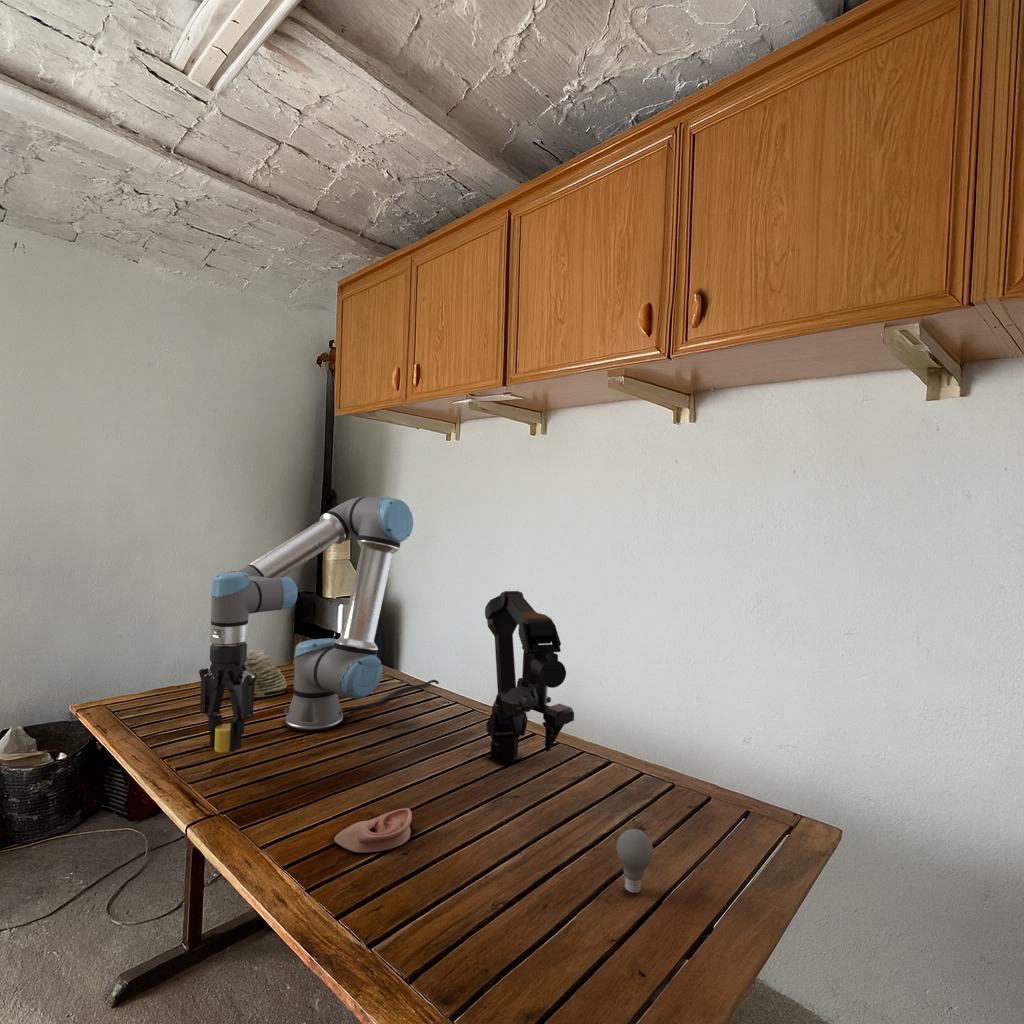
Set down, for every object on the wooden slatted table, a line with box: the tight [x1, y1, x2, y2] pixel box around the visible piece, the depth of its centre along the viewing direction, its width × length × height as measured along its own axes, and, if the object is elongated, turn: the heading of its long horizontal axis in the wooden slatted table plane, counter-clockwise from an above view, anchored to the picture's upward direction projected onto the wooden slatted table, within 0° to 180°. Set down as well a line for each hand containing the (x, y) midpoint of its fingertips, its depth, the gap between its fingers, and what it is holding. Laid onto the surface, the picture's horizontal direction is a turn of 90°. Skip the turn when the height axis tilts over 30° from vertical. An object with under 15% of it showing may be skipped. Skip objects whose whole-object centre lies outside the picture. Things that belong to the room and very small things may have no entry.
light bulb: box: [615, 828, 654, 894], centre depth 106 cm, size 6×6×10 cm
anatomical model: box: [333, 807, 413, 854], centre depth 119 cm, size 13×4×12 cm
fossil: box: [225, 647, 288, 698], centre depth 198 cm, size 9×18×15 cm, turn 132°
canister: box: [214, 723, 231, 754], centre depth 140 cm, size 5×5×5 cm
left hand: (225, 747), depth 140 cm, fingers closed on canister, 5 cm apart
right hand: (532, 744), depth 140 cm, fingers open, 9 cm apart
